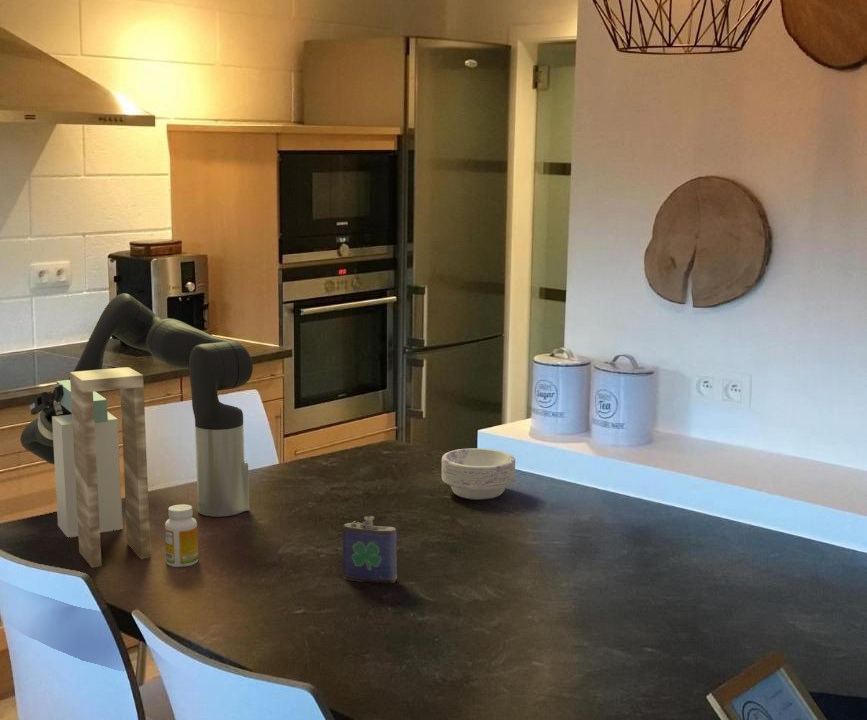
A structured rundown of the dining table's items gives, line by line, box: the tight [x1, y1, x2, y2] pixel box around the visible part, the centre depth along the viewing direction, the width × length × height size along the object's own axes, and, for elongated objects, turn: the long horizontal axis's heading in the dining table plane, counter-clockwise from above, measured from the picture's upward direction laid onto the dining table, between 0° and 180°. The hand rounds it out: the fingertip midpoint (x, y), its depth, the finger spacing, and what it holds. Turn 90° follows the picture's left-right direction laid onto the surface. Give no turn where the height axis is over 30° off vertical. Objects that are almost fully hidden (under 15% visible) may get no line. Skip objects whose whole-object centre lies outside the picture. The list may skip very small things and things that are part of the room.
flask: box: [342, 515, 398, 584], centre depth 184 cm, size 9×3×11 cm, turn 74°
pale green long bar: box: [56, 379, 108, 423], centre depth 209 cm, size 4×22×4 cm, turn 30°
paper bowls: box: [441, 447, 516, 501], centre depth 233 cm, size 15×15×8 cm
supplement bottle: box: [164, 503, 199, 568], centre depth 192 cm, size 5×5×10 cm
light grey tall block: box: [52, 411, 124, 539], centre depth 210 cm, size 10×8×21 cm
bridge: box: [69, 366, 152, 569], centre depth 194 cm, size 10×9×32 cm
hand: (73, 388), depth 214 cm, fingers closed on pale green long bar, 4 cm apart
